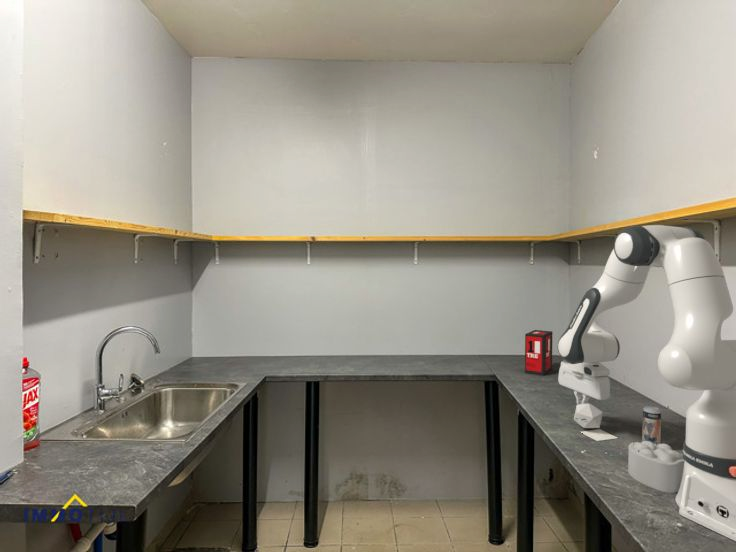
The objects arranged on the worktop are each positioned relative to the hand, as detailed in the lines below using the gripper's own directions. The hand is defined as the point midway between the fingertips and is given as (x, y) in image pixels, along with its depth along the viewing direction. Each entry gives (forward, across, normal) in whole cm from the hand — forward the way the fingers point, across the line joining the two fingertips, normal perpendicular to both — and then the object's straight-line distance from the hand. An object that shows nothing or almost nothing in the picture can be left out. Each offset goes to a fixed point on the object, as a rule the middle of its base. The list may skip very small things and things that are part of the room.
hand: (581, 405), depth 150 cm
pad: (+8, +8, 0) cm, 11 cm away
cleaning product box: (+8, -69, +35) cm, 78 cm away
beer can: (+8, +19, +9) cm, 22 cm away
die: (+6, 0, 0) cm, 6 cm away
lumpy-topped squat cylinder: (+8, +35, -8) cm, 37 cm away
